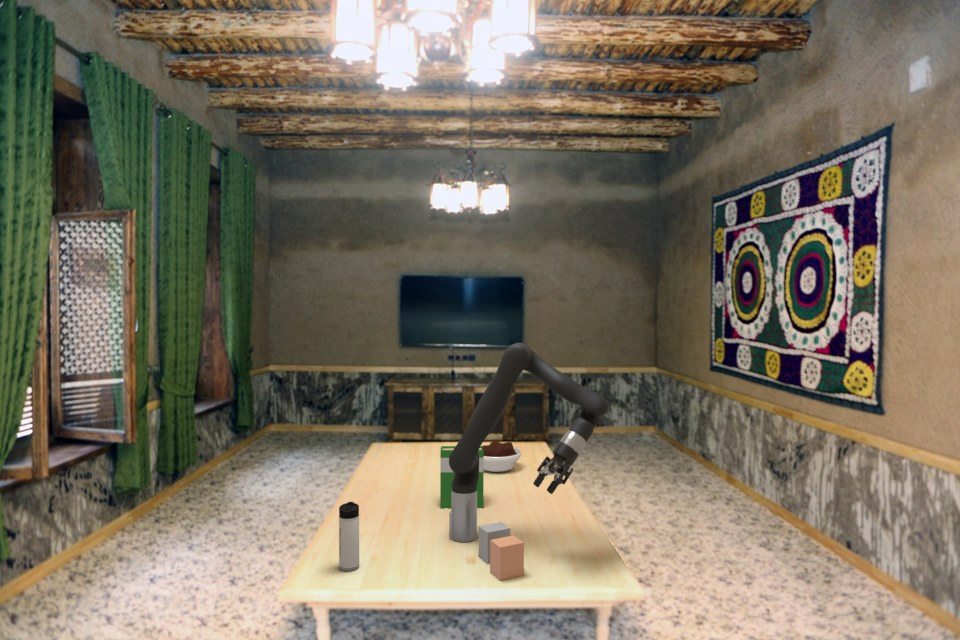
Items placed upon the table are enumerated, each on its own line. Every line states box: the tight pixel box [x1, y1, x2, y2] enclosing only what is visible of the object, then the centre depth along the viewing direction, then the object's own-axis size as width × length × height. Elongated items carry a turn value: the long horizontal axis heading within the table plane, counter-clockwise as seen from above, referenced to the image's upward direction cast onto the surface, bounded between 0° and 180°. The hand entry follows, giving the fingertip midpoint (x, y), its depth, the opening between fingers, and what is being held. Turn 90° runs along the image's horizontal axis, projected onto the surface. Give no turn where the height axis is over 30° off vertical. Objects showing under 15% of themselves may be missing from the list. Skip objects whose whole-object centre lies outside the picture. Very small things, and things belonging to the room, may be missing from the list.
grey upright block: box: [477, 521, 511, 565], centre depth 197 cm, size 8×6×10 cm
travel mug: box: [338, 501, 360, 572], centre depth 190 cm, size 6×7×20 cm
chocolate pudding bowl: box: [482, 439, 522, 473], centre depth 302 cm, size 25×25×15 cm
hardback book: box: [439, 445, 485, 510], centre depth 248 cm, size 18×7×24 cm, turn 92°
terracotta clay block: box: [489, 534, 525, 581], centre depth 186 cm, size 8×6×10 cm
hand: (542, 489), depth 191 cm, fingers open, 8 cm apart
